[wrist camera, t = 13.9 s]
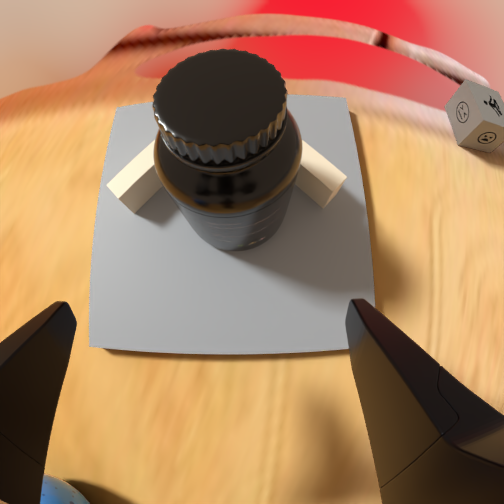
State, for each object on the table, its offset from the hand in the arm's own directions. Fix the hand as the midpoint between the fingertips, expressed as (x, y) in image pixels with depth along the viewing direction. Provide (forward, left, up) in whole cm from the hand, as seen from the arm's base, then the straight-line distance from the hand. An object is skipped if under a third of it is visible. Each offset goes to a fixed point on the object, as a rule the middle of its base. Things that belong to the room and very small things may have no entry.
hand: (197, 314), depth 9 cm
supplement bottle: (+7, +3, -11) cm, 14 cm away
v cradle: (+7, +3, -12) cm, 15 cm away
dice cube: (+27, -14, -13) cm, 33 cm away
